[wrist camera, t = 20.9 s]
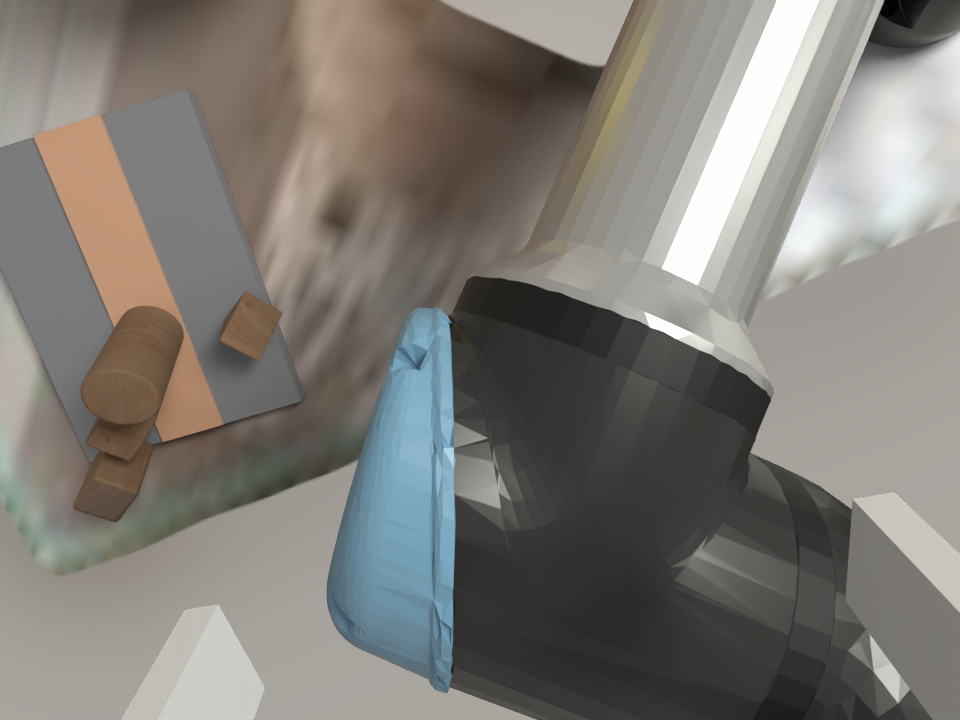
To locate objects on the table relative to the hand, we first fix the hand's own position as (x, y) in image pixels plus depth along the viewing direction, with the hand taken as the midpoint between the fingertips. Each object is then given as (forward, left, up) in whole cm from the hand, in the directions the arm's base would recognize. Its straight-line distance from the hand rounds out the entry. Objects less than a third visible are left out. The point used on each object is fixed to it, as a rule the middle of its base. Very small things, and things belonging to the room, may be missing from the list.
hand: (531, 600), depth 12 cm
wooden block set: (+24, -4, -33) cm, 41 cm away
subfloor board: (+24, -12, -34) cm, 43 cm away
